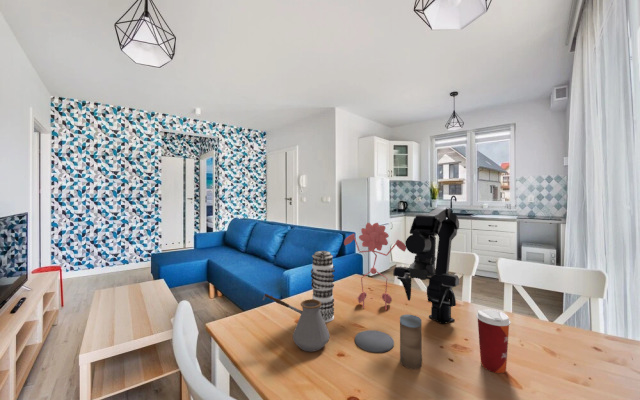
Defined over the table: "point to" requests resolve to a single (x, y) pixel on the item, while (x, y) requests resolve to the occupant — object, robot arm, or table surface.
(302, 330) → the coffee pot
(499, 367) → the paper cup
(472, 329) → the table surface
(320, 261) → the decorative candle
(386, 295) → the figurine
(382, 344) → the felt mat
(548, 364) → the table surface
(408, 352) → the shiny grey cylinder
